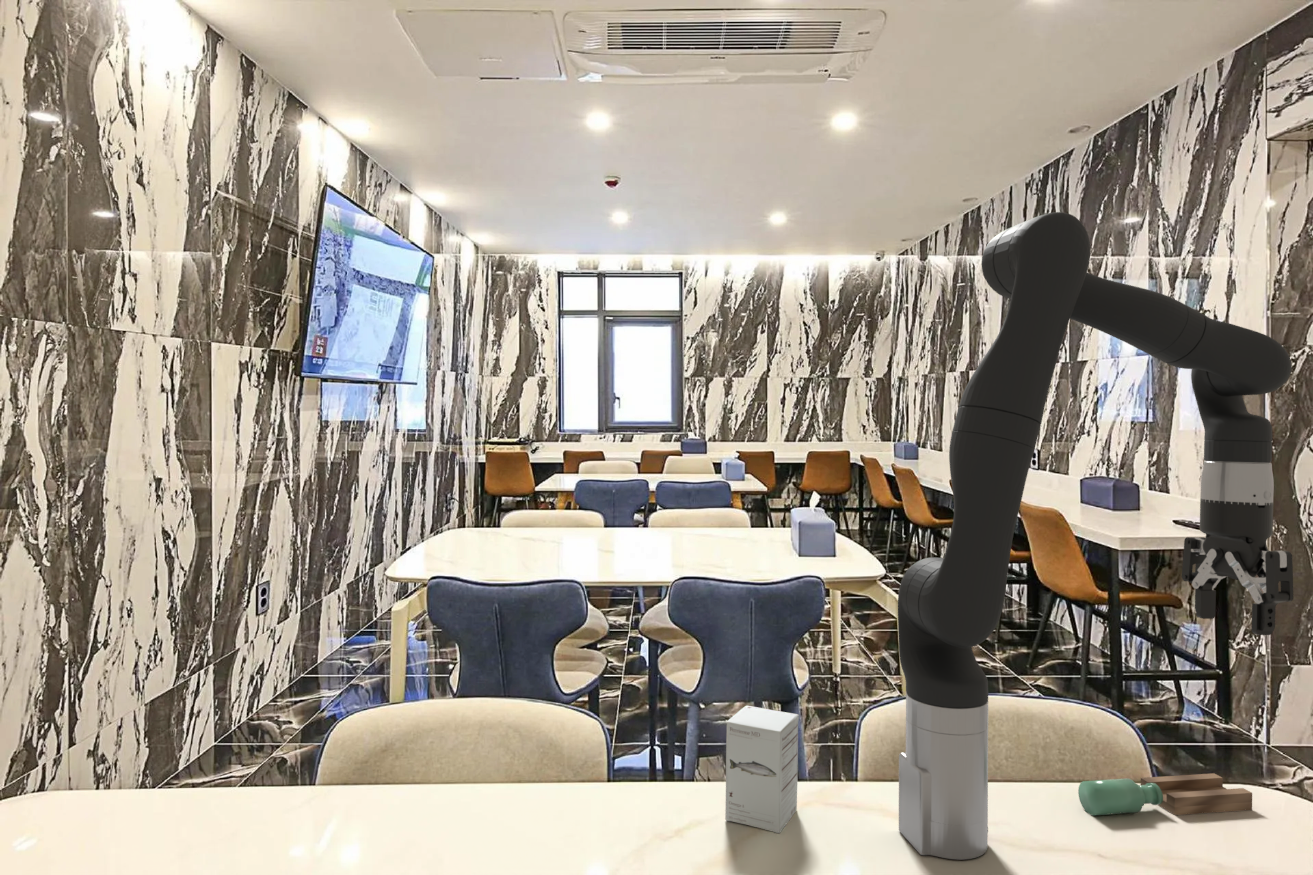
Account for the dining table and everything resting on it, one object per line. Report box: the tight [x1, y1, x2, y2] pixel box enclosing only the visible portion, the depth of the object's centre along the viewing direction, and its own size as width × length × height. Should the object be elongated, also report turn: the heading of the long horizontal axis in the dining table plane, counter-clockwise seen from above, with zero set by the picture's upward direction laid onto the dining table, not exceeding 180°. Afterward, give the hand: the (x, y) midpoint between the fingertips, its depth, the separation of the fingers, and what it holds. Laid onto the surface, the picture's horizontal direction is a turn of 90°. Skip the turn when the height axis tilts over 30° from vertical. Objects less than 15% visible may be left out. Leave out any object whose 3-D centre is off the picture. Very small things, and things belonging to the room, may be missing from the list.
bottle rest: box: [1140, 772, 1253, 816], centre depth 107 cm, size 11×6×2 cm, turn 98°
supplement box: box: [724, 705, 800, 834], centre depth 103 cm, size 7×7×13 cm
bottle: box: [1077, 778, 1163, 816], centre depth 104 cm, size 9×4×4 cm, turn 98°
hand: (1232, 625), depth 103 cm, fingers open, 8 cm apart
